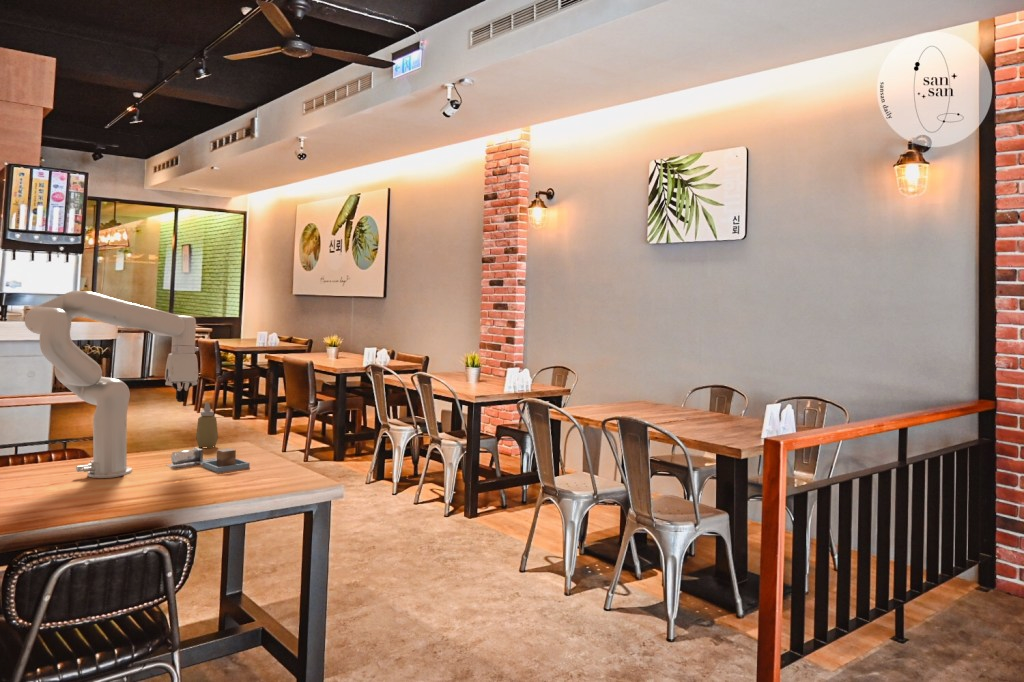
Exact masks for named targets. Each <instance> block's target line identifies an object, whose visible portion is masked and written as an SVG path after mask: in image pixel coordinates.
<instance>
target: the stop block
mask: <svg viewBox="0 0 1024 682" xmlns="http://www.w3.org/2000/svg"><path fill="white" fill-rule="evenodd" d="M236 453H237V451H236V449H234V448H231V447H227V448H220V449H216V458H217V467H223V466H230V465H236V458H237V457H236V456H237V454H236Z"/></svg>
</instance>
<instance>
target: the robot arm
mask: <svg viewBox="0 0 1024 682" xmlns="http://www.w3.org/2000/svg"><path fill="white" fill-rule="evenodd" d="M75 318H85V319H89V320H93V321H97V322H101V323H105V324H109V325H113V326H116V327H119V328H127V329H136V330H137V329H138V330H145V331H149V332H150V333H151V334H152V335H155V336H162V337H171V352H170V353H168V356H167V359H166V366H165V372H164V380H165V386H170V387H172V388H174V390H175V399H176V402H178V403H185V402H186V399H187V393H188V392H187V391H189V389H190V388H191V387H193V386H197V385H198V378H199V366H198V365H199V362H198V356H197V354H195V353H196V352H199V350H200V348H199V347H197V346H196V330H197V329H196V328H197V326H196V325H197V319H196V318H195V317H194V316H192V315H191V316H190V315H178V314H175V313H172V312H168V311H163V310H161V309H156V308H151V307H149V306H144V305H140V304H138V303H134V302H133V303H132V302H129V301H125V300H122V299H118V298H116V297H115V298H114V297H110V296H108V295H105V294H101V293H99V292H98V293H97V292H93V291H89V290H88V291H87V290H72V291H69V292H66V293H64V294H61V295H58V296H57V297H55V298H53V299H51V300H48V301H46V302H43V303H41V304H39V305H37V306H35V307H33V308H31V309H29V311H28V312H27V313H26V314H25V317H24V325H25V327H26V329H28V331H30V332H31V333H33V334H36V335H39V347H40V352H41V353H42V355H43V356H44V358H45V359H46V360H47V361H49V363H51V364H52V366H54V375H55V377H56V379H57V380H58V382H60V383H61V384H62V385H63V386H64V387H66V388H67V389H68V390H69V391H71V392H72V393H73V394H75V395H76V396H77V397H78V398H80V399H81V400H82V401H84V402H85V403H87V404H89V405H94V406H96V408H95V411H94V414H93V420H92V421H93V422H92V430H93V432H92V434H93V436H92V437H93V441H92V443H93V444H92V446H93V452H92V453H93V454H92V455H93V458H92V460H90V463H87V464H85V465H77V466H75V471H76V473H80V472H81V473H82V472H83V473H86V472H87V476H88V477H89V478H93V479H112V478H118V477H119V478H120V477H125V475H129V474H131V473H132V472H133V468H132V467H129V466H127V464H128V462H127V459H128V458H127V454H128V452H127V449H128V448H127V447H128V446H127V443H128V442H127V440H128V438H127V435H128V433H127V432H128V428H127V427H128V425H127V424H128V423H127V422H128V421H127V419H128V418H127V417H128V407H129V402H130V396H131V393H130V389H129V386H128V385H127V384H126V383H125V382H124V381H122V380H120V379H118V378H114V377H113V378H112V377H107V376H106V377H105V376H103V370H102V367H101V365H100V364H99V363H98V362H97V361H96V360H94V358H92V357H91V356H89V355H88V354H87V353H86V352H85V351H83V350H82V349H81V348H80V347H79V346H78V345H77V344H75V343H74V341H73V340H72V338H71V328H72V320H74V319H75ZM181 383H182V385H181Z"/></svg>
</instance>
